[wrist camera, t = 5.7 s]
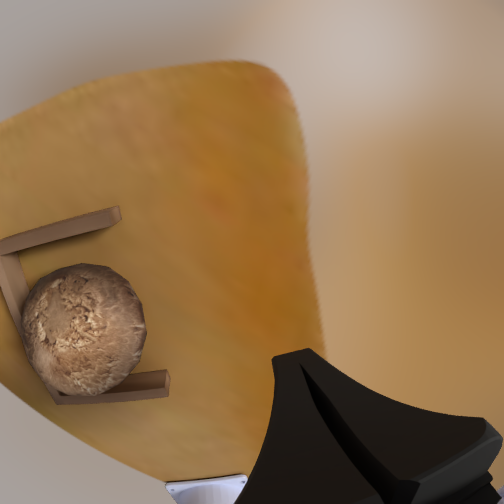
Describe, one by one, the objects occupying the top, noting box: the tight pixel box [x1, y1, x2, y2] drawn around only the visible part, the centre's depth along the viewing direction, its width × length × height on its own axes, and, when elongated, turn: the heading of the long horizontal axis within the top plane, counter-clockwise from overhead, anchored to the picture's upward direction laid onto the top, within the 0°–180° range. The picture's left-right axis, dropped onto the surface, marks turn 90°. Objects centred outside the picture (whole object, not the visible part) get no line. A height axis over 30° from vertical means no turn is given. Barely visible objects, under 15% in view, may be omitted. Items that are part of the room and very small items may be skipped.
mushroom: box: [21, 263, 147, 396], centre depth 16 cm, size 8×8×6 cm
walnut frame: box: [0, 206, 170, 405], centre depth 17 cm, size 12×9×2 cm
